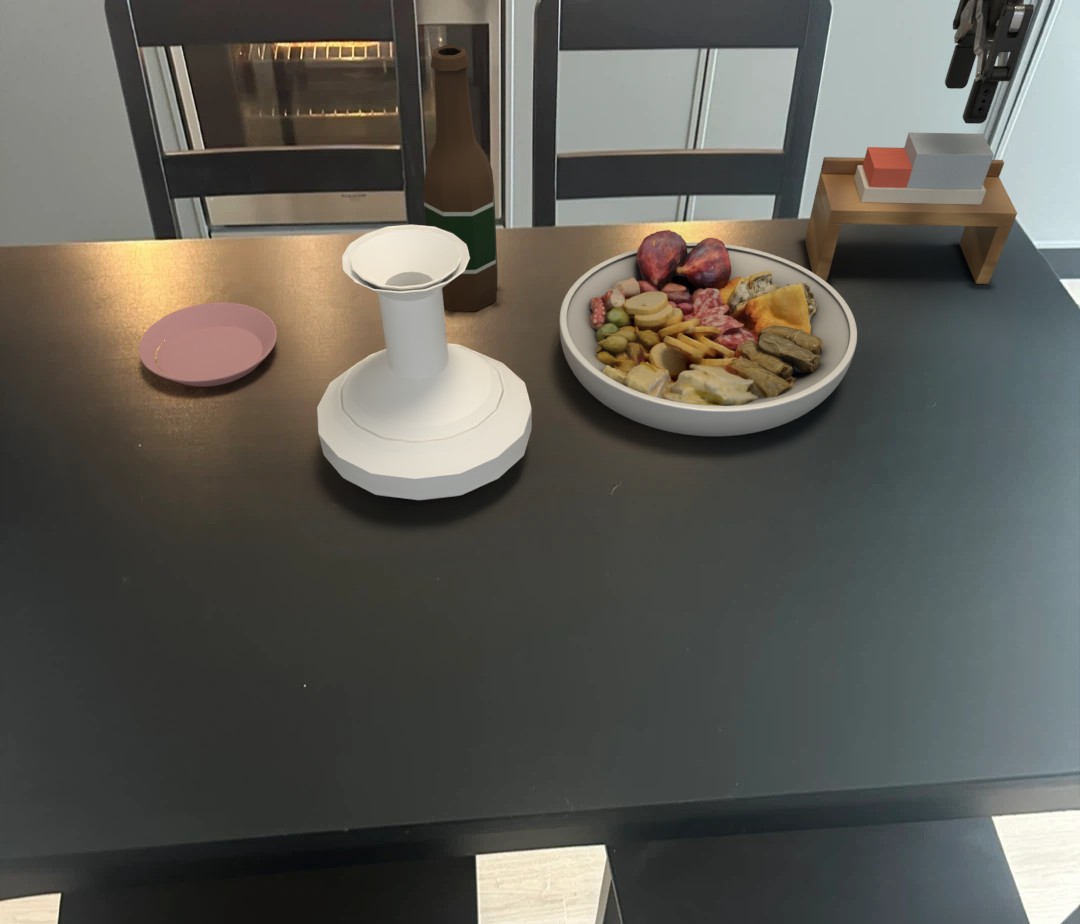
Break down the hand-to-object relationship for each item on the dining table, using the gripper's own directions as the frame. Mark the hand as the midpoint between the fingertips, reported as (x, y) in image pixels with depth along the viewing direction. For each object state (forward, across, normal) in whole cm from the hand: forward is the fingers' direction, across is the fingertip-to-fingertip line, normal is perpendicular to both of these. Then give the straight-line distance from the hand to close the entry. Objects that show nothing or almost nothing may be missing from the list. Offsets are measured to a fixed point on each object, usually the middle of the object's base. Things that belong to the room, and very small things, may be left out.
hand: (963, 104), depth 96 cm
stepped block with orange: (+9, 0, +2) cm, 9 cm away
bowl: (+17, -21, +26) cm, 37 cm away
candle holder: (+17, -37, +53) cm, 67 cm away
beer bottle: (+17, -9, +52) cm, 55 cm away
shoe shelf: (+17, 0, +2) cm, 17 cm away
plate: (+16, -22, +78) cm, 83 cm away
